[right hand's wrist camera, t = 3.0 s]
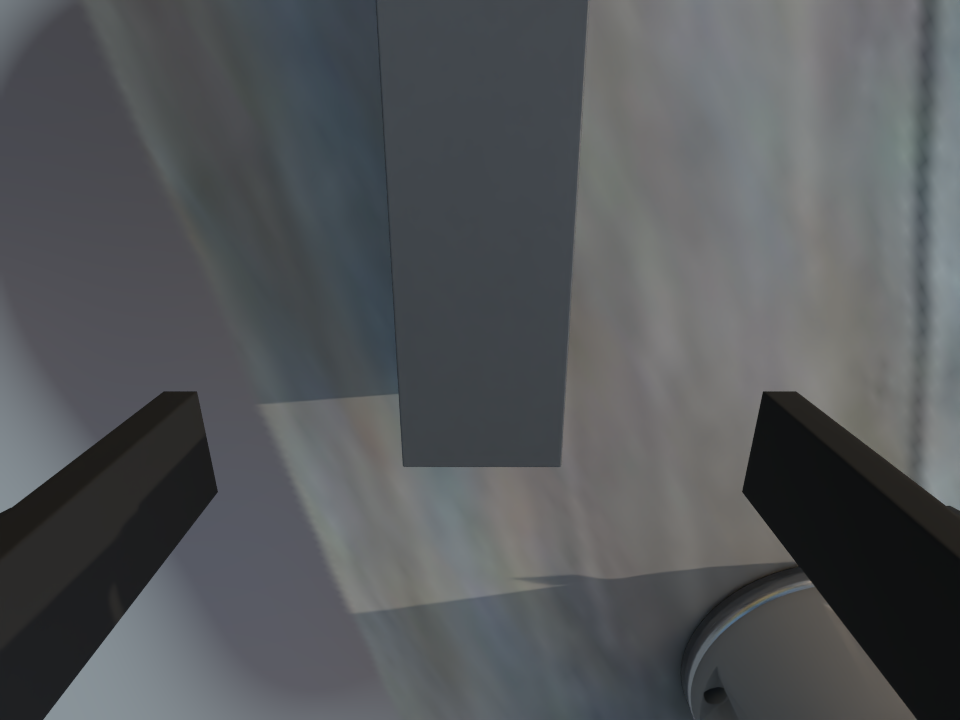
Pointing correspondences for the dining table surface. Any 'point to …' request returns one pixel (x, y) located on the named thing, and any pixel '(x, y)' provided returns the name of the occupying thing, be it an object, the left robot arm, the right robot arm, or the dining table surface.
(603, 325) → the dining table surface
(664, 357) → the dining table surface
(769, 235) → the dining table surface
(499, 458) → the bar
